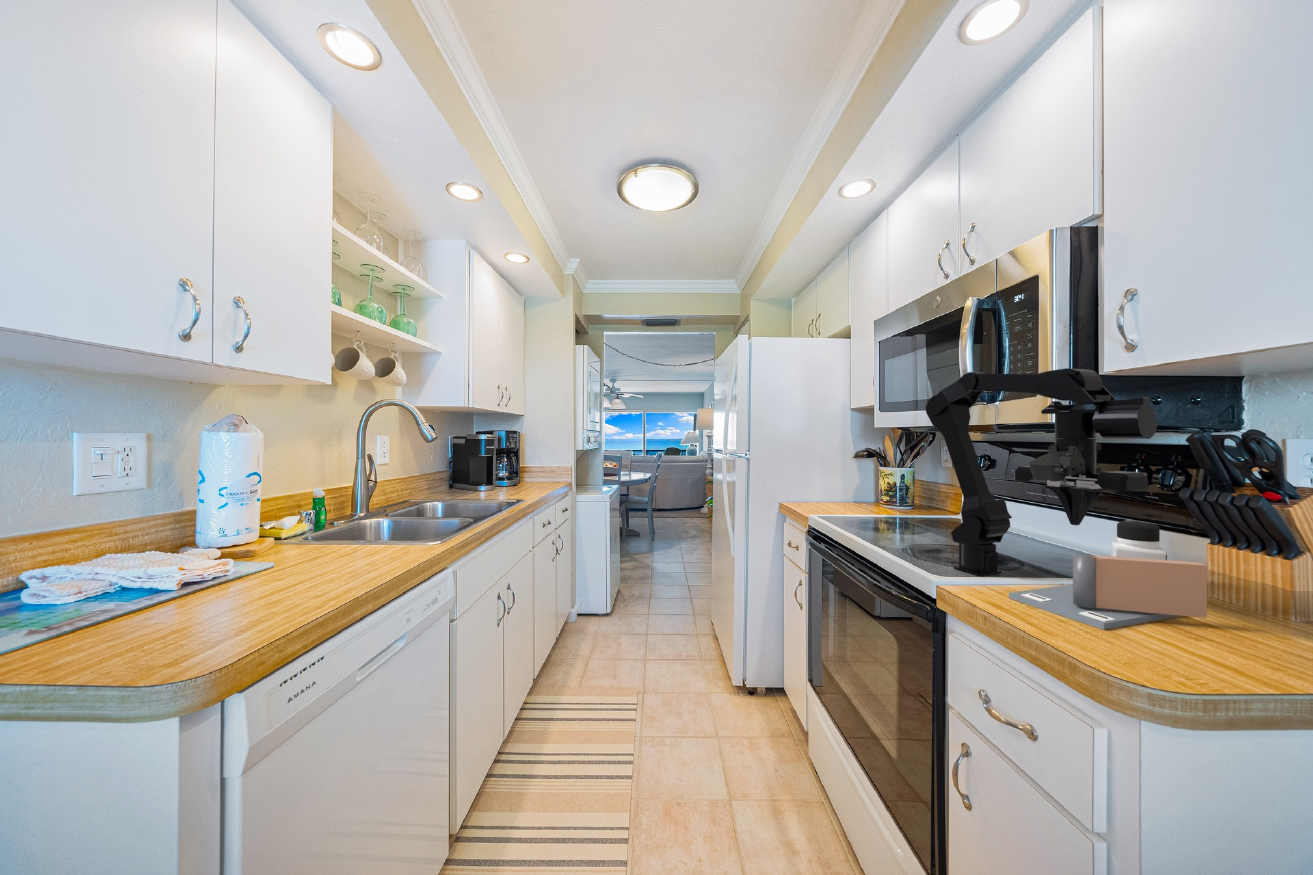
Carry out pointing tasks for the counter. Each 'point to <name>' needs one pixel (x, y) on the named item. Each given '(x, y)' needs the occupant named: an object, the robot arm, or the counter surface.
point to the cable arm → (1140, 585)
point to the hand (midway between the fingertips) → (1075, 524)
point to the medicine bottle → (1138, 541)
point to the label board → (1082, 608)
